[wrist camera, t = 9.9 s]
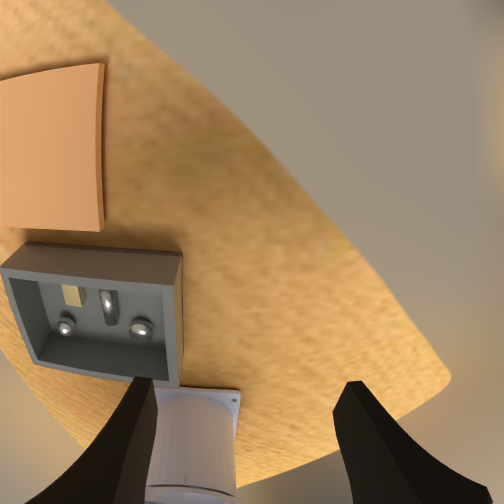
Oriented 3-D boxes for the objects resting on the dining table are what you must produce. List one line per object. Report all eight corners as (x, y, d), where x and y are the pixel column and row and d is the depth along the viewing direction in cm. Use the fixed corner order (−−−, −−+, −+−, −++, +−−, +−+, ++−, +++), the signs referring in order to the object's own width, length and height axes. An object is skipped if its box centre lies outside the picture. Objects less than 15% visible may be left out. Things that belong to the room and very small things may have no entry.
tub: (183, 351, 22) (179, 388, 19) (50, 333, 21) (33, 364, 18) (182, 252, 18) (173, 285, 15) (26, 241, 17) (-1, 267, 14)
